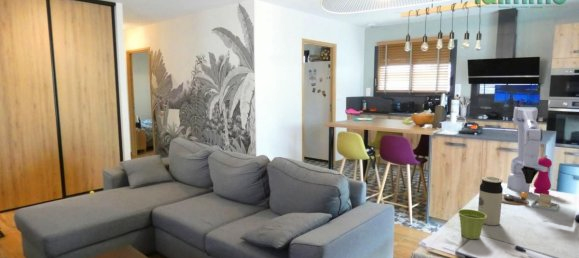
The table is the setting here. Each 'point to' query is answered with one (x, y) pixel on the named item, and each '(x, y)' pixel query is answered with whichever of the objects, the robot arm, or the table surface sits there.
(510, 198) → the crank
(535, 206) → the tray
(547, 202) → the stop block
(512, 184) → the robot arm
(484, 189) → the travel mug
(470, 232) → the plant pot
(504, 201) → the crank base
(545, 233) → the table surface
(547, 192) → the pepper mill
